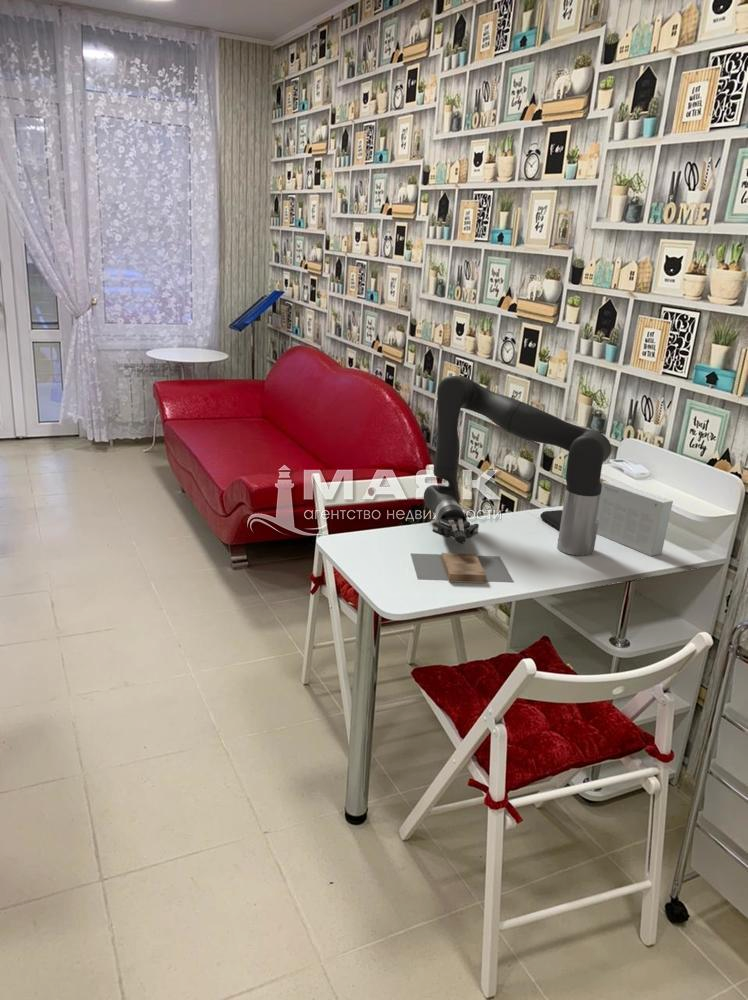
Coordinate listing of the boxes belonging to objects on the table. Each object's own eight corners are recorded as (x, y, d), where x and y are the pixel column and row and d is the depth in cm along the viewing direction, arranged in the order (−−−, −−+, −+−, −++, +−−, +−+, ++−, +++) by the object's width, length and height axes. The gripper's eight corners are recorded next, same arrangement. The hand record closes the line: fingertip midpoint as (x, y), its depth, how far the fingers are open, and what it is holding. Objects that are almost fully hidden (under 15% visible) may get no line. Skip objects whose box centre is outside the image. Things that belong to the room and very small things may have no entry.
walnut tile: (475, 554, 196) (486, 575, 183) (475, 561, 196) (485, 583, 184) (441, 552, 195) (449, 573, 183) (440, 560, 196) (448, 582, 183)
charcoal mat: (499, 558, 201) (499, 556, 201) (513, 584, 186) (514, 582, 186) (410, 555, 199) (410, 553, 199) (417, 581, 184) (417, 579, 184)
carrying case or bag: (594, 533, 225) (565, 516, 237) (596, 524, 224) (567, 507, 236) (564, 536, 221) (537, 519, 234) (566, 527, 220) (538, 510, 233)
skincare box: (663, 553, 212) (674, 500, 207) (651, 557, 209) (662, 503, 204) (603, 529, 228) (612, 479, 223) (591, 532, 225) (600, 481, 220)
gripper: (428, 503, 207) (437, 525, 191) (475, 504, 208) (488, 527, 192) (425, 528, 210) (434, 553, 193) (472, 530, 211) (485, 554, 194)
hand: (461, 540), depth 193 cm, fingers closed
